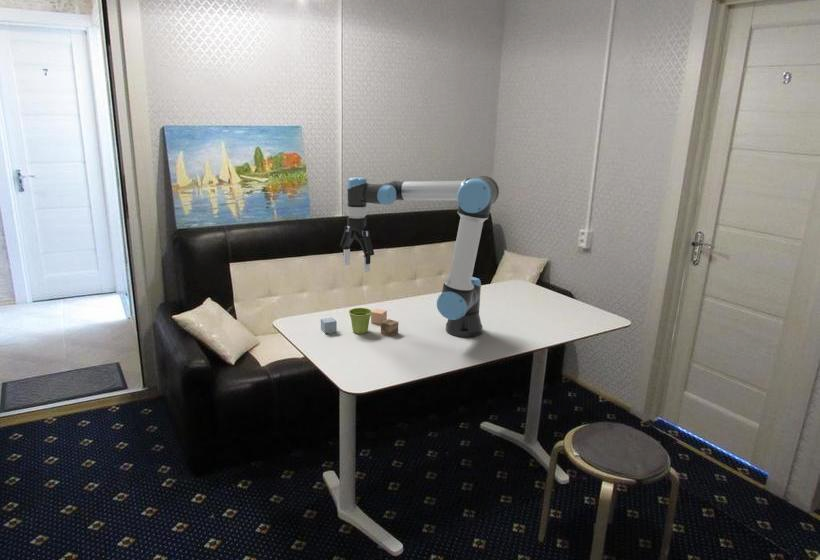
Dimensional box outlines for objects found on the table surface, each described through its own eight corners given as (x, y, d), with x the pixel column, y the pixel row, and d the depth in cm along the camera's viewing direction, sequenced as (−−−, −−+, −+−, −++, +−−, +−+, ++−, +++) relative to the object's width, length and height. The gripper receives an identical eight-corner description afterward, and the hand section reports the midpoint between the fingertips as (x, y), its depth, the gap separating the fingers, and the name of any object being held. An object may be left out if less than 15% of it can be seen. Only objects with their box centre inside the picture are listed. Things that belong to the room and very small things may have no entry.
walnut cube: (398, 333, 238) (398, 321, 236) (390, 336, 234) (390, 325, 232) (388, 330, 240) (388, 319, 239) (380, 333, 237) (380, 322, 235)
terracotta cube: (386, 321, 251) (386, 310, 250) (381, 325, 246) (381, 313, 245) (376, 319, 253) (376, 308, 251) (371, 323, 248) (371, 312, 247)
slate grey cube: (336, 332, 236) (336, 321, 235) (324, 334, 234) (324, 322, 233) (332, 328, 241) (332, 317, 239) (320, 330, 239) (320, 318, 237)
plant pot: (370, 336, 234) (371, 315, 231) (347, 335, 234) (347, 314, 231) (372, 327, 243) (372, 308, 240) (350, 327, 243) (350, 307, 240)
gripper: (383, 220, 227) (382, 273, 232) (346, 211, 244) (346, 260, 250) (368, 222, 222) (367, 276, 227) (331, 212, 240) (331, 263, 245)
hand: (356, 268), depth 239 cm, fingers open, 13 cm apart
